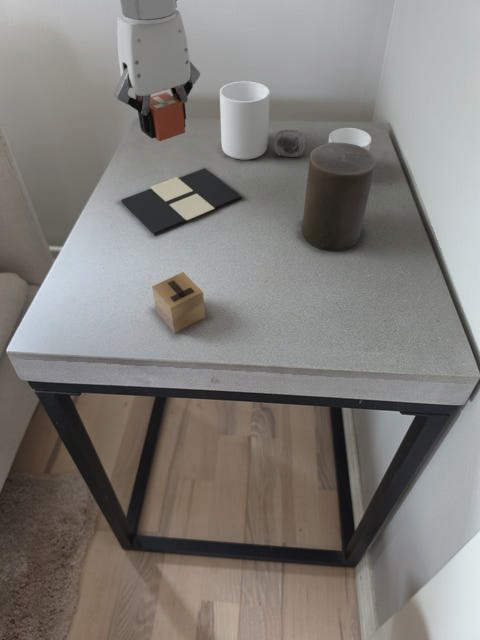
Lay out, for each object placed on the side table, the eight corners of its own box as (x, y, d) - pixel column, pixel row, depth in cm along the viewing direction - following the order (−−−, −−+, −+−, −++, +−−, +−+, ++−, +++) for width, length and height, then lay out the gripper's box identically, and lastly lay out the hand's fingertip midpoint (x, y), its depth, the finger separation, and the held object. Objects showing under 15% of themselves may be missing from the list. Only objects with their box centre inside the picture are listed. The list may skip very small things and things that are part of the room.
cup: (365, 162, 96) (372, 129, 91) (363, 189, 90) (370, 156, 85) (326, 158, 97) (330, 125, 92) (321, 185, 91) (326, 151, 86)
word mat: (155, 236, 80) (155, 233, 80) (120, 201, 87) (119, 198, 87) (242, 199, 88) (242, 196, 87) (203, 169, 95) (203, 166, 94)
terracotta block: (144, 130, 81) (139, 99, 77) (170, 121, 83) (166, 91, 79) (159, 141, 78) (155, 110, 75) (185, 132, 80) (182, 102, 77)
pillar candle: (318, 257, 77) (331, 172, 66) (291, 223, 83) (299, 140, 72) (371, 243, 79) (392, 158, 68) (341, 210, 85) (356, 128, 74)
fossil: (272, 158, 97) (273, 135, 94) (272, 150, 100) (273, 126, 96) (304, 159, 97) (307, 135, 93) (303, 150, 99) (305, 126, 96)
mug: (218, 160, 97) (216, 101, 88) (225, 131, 105) (224, 75, 96) (265, 162, 96) (268, 103, 88) (269, 133, 104) (271, 77, 96)
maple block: (174, 333, 66) (170, 307, 62) (156, 311, 69) (151, 286, 65) (205, 317, 68) (203, 291, 64) (186, 297, 71) (183, 271, 67)
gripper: (186, -13, 73) (195, 108, 86) (79, 9, 66) (107, 136, 79) (214, -1, 69) (219, 124, 82) (104, 23, 62) (129, 155, 75)
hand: (164, 128), depth 81 cm, fingers closed on terracotta block, 5 cm apart
